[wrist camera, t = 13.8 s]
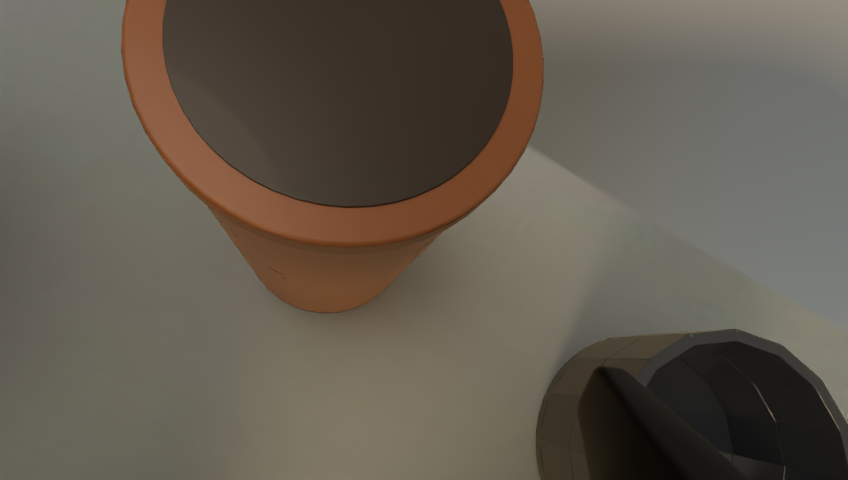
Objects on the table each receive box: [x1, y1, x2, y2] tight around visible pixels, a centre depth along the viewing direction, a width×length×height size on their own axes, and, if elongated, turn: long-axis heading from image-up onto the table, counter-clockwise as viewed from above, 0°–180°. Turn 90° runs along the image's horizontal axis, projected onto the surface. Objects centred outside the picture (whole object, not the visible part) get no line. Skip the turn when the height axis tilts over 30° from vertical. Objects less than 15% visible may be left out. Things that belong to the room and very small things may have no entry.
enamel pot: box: [536, 329, 848, 480], centre depth 17 cm, size 8×8×5 cm
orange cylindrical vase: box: [121, 0, 544, 313], centre depth 13 cm, size 6×6×12 cm
